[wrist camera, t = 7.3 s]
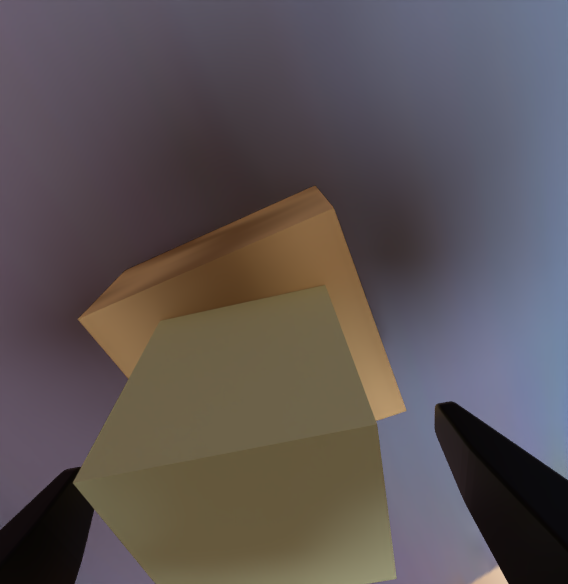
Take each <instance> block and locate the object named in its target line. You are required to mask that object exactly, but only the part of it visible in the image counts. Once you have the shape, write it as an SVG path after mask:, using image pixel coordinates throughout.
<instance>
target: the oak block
mask: <svg viewBox="0 0 568 584" xmlns="http://www.w3.org/2000/svg"><path fill="white" fill-rule="evenodd" d="M323 285H325V286H326V288H327V291H328V294H329V296H330V299H331V302H332V304H333V307H334V310H335V312H336V315H337V318H338V321H339V323H340V326H341V329H342V331H343V334H344V337H345V339H346V342H347V345H348V347H349V350H350V353H351V356H352V358H353V361H354V364H355V366H356V369H357V372H358V374H359V377H360V380H361V382H362V385H363V388H364V391H365V393H366V396H367V399H368V401H369V404H370V407H371V409H372V412H373V415H374V417H375V420H376V421H377V420H380V419H383V418H386V417H389V416H392V415H395V414H398V413H401V412H404V411H406V408H405V405H404V402H403V400H402V397H401V394H400V391H399V388H398V386H397V383H396V380H395V377H394V375H393V372H392V369H391V366H390V363H389V361H388V358H387V355H386V352H385V349H384V347H383V344H382V341H381V338H380V336H379V333H378V330H377V327H376V324H375V322H374V319H373V316H372V313H371V310H370V308H369V305H368V302H367V299H366V296H365V294H364V291H363V288H362V285H361V283H360V280H359V277H358V274H357V271H356V269H355V266H354V263H353V260H352V257H351V255H350V252H349V249H348V246H347V244H346V241H345V238H344V235H343V232H342V230H341V227H340V224H339V221H338V218H337V216H336V213H335V210H334V208H333V206H332V205H331V204H330V203H329V202H328V200H327V199H326V198H325V197H324V195H323V194H322V193H321V192H320V191H319V189H318V188H317V187H316V186H313V187H310V188H308V189H306V190H304V191H301V192H299V193H297V194H295V195H293V196H290V197H288V198H286V199H284V200H281V201H279V202H277V203H275V204H272V205H270V206H268V207H266V208H263V209H261V210H259V211H257V212H255V213H252V214H250V215H248V216H246V217H243V218H241V219H239V220H237V221H234V222H232V223H230V224H228V225H226V226H223V227H221V228H219V229H217V230H214V231H212V232H210V233H208V234H205V235H203V236H201V237H199V238H197V239H194V240H192V241H190V242H188V243H185V244H183V245H181V246H179V247H176V248H174V249H172V250H170V251H168V252H165V253H163V254H161V255H159V256H156V257H154V258H152V259H150V260H147V261H145V262H143V263H141V264H138V265H136V266H134V267H132V268H130V269H127V270H125V271H124V272H123V273H122V274H121V275H120V276H119V277H118V278H117V279H116V280H115V281H114V282H113V283H112V284H111V286H110V287H109V288H108V289H107V290H106V291H105V292H104V293H103V294H102V295H101V296H100V297H99V298H98V299H97V300H96V301H95V302H94V303H93V304H92V305H91V306H90V307H89V308H88V309H87V310H86V311H85V312H84V313H83V314H82V315H81V316H80V317H79V318H78V320H79V321H80V322H81V324H82V325H83V326H84V327H85V328H86V329H87V331H88V332H89V333H90V334H91V335H92V337H93V338H94V339H95V340H96V341H97V342H98V344H99V345H100V346H101V347H102V348H103V349H104V351H105V352H106V353H107V354H108V355H109V357H110V358H111V359H112V360H113V361H114V362H115V364H116V365H117V366H118V367H119V368H120V369H121V371H122V372H123V373H124V374H125V375H126V377H127V378H128V379H129V377H130V376H131V374H132V372H133V370H134V368H135V366H136V364H137V363H138V361H139V359H140V357H141V355H142V353H143V351H144V350H145V348H146V346H147V344H148V342H149V340H150V338H151V336H152V335H153V333H154V331H155V329H156V327H157V325H158V323H159V322H160V321H161V320H166V319H171V318H175V317H180V316H184V315H189V314H194V313H198V312H203V311H207V310H212V309H217V308H221V307H226V306H231V305H235V304H240V303H244V302H249V301H254V300H258V299H263V298H267V297H272V296H277V295H281V294H286V293H290V292H295V291H300V290H304V289H309V288H313V287H318V286H323Z"/></svg>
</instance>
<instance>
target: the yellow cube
mask: <svg viewBox="0 0 568 584" xmlns="http://www.w3.org/2000/svg"><path fill="white" fill-rule="evenodd" d="M73 484H74V485H75V486H76V487H77V489H78V490H79V491H80V492H81V494H82V495H83V496H84V497H85V498H86V500H87V501H88V502H89V503H90V504H91V506H92V507H93V508H94V509H95V511H96V512H97V513H98V514H99V515H100V517H101V518H102V519H103V520H104V522H105V523H106V524H107V525H108V526H109V528H110V529H111V530H112V531H113V533H114V534H115V535H116V536H117V537H118V539H119V540H120V541H121V542H122V543H123V545H124V546H125V547H126V548H127V550H128V551H129V552H130V553H131V554H132V556H133V557H134V558H135V559H136V561H137V562H138V563H139V564H140V565H141V567H142V568H143V569H144V570H145V572H146V573H147V574H148V575H149V576H150V578H151V579H152V580H153V581H154V582H155V584H368V583H374V582H380V581H386V580H392V579H397V578H396V570H395V562H394V555H393V547H392V539H391V531H390V523H389V515H388V507H387V499H386V491H385V483H384V476H383V468H382V460H381V452H380V444H379V436H378V428H377V423H376V420H375V417H374V415H373V412H372V409H371V407H370V404H369V401H368V399H367V396H366V393H365V391H364V388H363V385H362V382H361V380H360V377H359V374H358V372H357V369H356V366H355V364H354V361H353V358H352V356H351V353H350V350H349V347H348V345H347V342H346V339H345V337H344V334H343V331H342V329H341V326H340V323H339V321H338V318H337V315H336V312H335V310H334V307H333V304H332V302H331V299H330V296H329V294H328V291H327V288H326V286H325V285H323V286H318V287H313V288H309V289H304V290H300V291H295V292H290V293H286V294H281V295H277V296H272V297H267V298H263V299H258V300H254V301H249V302H244V303H240V304H235V305H231V306H226V307H221V308H217V309H212V310H207V311H203V312H198V313H194V314H189V315H184V316H180V317H175V318H171V319H166V320H161V321H160V322H159V323H158V325H157V327H156V329H155V331H154V333H153V335H152V336H151V338H150V340H149V342H148V344H147V346H146V348H145V350H144V351H143V353H142V355H141V357H140V359H139V361H138V363H137V364H136V366H135V368H134V370H133V372H132V374H131V376H130V377H129V379H128V381H127V383H126V385H125V387H124V389H123V390H122V392H121V394H120V396H119V398H118V400H117V402H116V403H115V405H114V407H113V409H112V411H111V413H110V415H109V416H108V418H107V420H106V422H105V424H104V426H103V428H102V430H101V431H100V433H99V435H98V437H97V439H96V441H95V443H94V444H93V446H92V448H91V450H90V452H89V454H88V456H87V457H86V459H85V461H84V463H83V465H82V467H81V469H80V470H79V472H78V474H77V476H76V478H75V480H74V482H73Z"/></svg>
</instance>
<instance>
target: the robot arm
mask: <svg viewBox="0 0 568 584" xmlns="http://www.w3.org/2000/svg"><path fill="white" fill-rule="evenodd" d="M435 432H436V436H437V438H438V441H439V443H440V445H441V448H442V450H443V452H444V455H445V457H446V460H447V462H448V464H449V467H450V469H451V471H452V474H453V476H454V479H455V481H456V483H457V486H458V488H459V490H460V493H461V495H462V497H463V500H464V502H465V504H466V506H467V508H468V510H469V512H470V513H471V515H472V517H473V519H474V521H475V523H476V524H477V526H478V528H479V530H480V532H481V534H482V536H483V537H484V539H485V541H486V543H487V545H488V547H489V549H490V550H491V552H492V554H493V556H494V558H495V560H496V561H497V563H498V565H499V567H500V569H501V571H502V572H503V574H504V576H505V578H506V580H507V582H508V583H509V584H568V480H567V479H566V478H564V477H563V476H561V475H560V474H558V473H557V472H555V471H554V470H553V469H551V468H550V467H548V466H547V465H545V464H544V463H542V462H541V461H539V460H538V459H537V458H535V457H534V456H532V455H531V454H529V453H528V452H526V451H525V450H523V449H522V448H521V447H519V446H518V445H516V444H515V443H513V442H512V441H510V440H509V439H507V438H506V437H505V436H503V435H502V434H500V433H499V432H497V431H496V430H494V429H493V428H491V427H490V426H489V425H487V424H486V423H484V422H483V421H481V420H480V419H478V418H477V417H475V416H474V415H473V414H471V413H470V412H468V411H467V410H465V409H464V408H462V407H461V406H459V405H458V404H457V403H455V402H452V401H450V402H444V403H438V404H436V406H435ZM80 469H81V467H75V468H70V469H66V470H64V471H63V472H62V473H61V474H59V475H58V476H57V477H56V478H55V479H54V480H53V481H52V482H51V483H50V484H49V485H48V486H47V487H46V488H45V489H44V490H42V491H41V492H40V493H39V494H38V495H37V496H36V497H35V498H34V499H33V500H32V501H31V502H30V503H29V504H28V505H26V506H25V507H24V508H23V509H22V510H21V511H20V512H19V513H18V514H17V515H16V516H15V517H14V518H13V519H12V520H11V521H9V522H8V523H7V524H6V525H5V526H4V527H3V528H2V529H1V530H0V584H75V581H76V578H77V575H78V571H79V568H80V565H81V561H82V558H83V554H84V550H85V546H86V542H87V538H88V533H89V529H90V525H91V521H92V517H93V513H94V508H93V507H92V506H91V504H90V503H89V502H88V501H87V500H86V498H85V497H84V496H83V495H82V494H81V492H80V491H79V490H78V489H77V487H76V486H75V485H74V484H73V482H74V480H75V478H76V476H77V474H78V472H79V470H80Z"/></svg>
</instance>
